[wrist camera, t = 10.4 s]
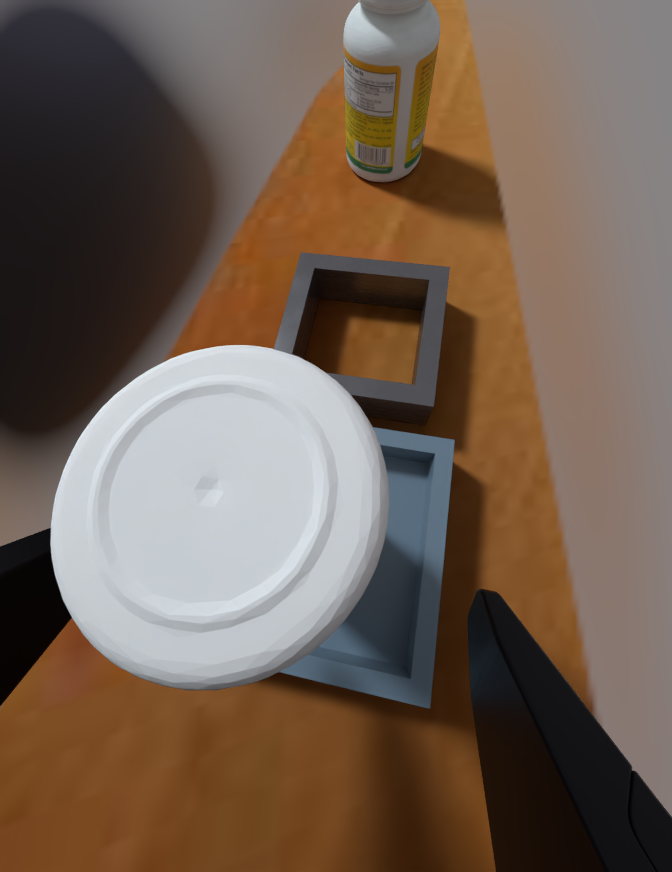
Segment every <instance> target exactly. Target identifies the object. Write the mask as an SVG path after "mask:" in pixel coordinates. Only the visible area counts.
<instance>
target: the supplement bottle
mask: <svg viewBox="0 0 672 872" xmlns="http://www.w3.org/2000/svg"><path fill="white" fill-rule="evenodd" d="M358 1H359V3H358V4H357V5H356V6H355V7H354V8H353V9H352V11H351V12H350V14H349V16H348V18H347V21H346V24H345V28H344V78H345V111H346V150H347V160H348V163H349V165H350V167H351V168H352V170H353V171H354V172H355V173H356V174H357V175H358V176H360V177H362V178H364V179H366V180H369V181H373V182H390V181H394V180H398V179H400V178H402V177H404V176H406V175H407V174H409V173H410V172H411V171H412V170H413V169H414V167H415V166H416V165H417V163H418V161H419V159H420V156H421V151H422V144H423V138H424V132H425V125H426V119H427V112H428V106H429V99H430V93H431V87H432V81H433V74H434V68H435V62H436V56H437V50H438V43H439V36H440V21H439V17H438V13H437V11H436V9H435V7H434V6H433V4H432V3H431V2H430V1H429V0H358Z"/></svg>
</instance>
